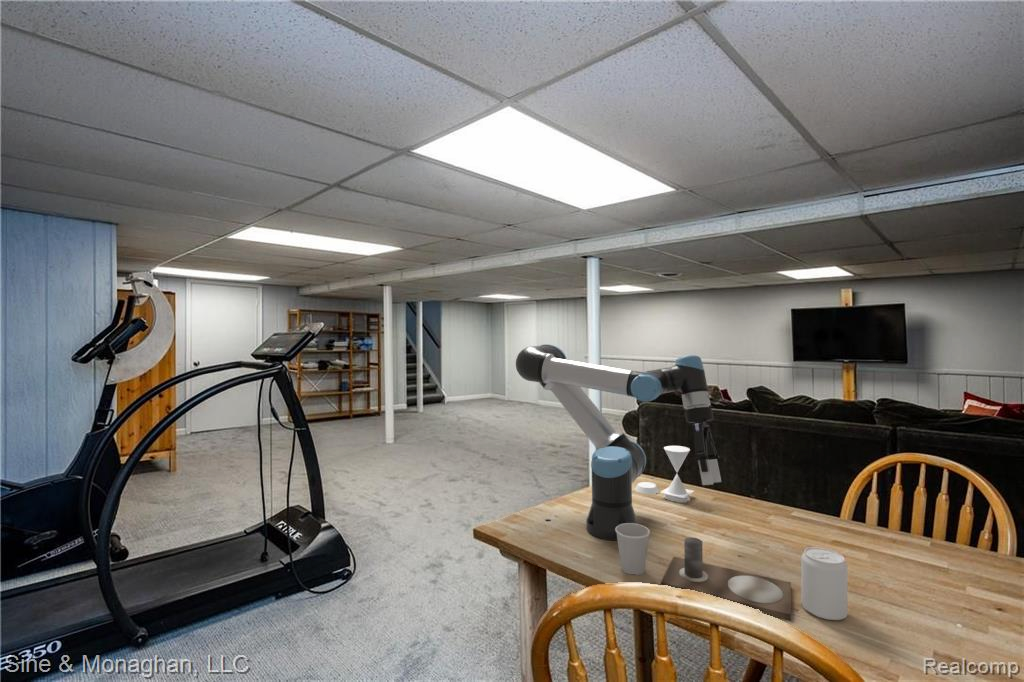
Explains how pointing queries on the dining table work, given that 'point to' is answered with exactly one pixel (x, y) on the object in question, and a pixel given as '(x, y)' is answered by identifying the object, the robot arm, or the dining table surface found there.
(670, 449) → the white plastic pieces
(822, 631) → the dining table surface
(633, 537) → the dixie cup
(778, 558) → the dining table surface
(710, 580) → the board
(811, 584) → the beverage can
